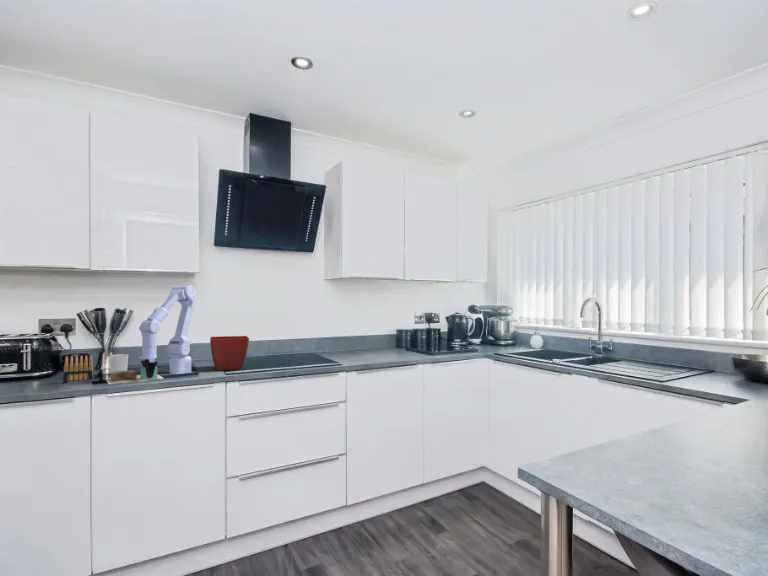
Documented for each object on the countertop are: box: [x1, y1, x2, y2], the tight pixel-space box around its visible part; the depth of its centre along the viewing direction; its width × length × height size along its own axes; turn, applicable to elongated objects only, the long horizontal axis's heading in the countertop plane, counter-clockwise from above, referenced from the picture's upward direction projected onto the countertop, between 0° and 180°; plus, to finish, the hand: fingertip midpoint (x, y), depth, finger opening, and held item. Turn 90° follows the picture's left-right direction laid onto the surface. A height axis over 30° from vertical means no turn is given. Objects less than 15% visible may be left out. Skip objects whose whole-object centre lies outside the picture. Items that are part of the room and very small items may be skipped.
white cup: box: [108, 353, 129, 376], centre depth 199 cm, size 8×8×10 cm
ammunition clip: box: [62, 354, 94, 385], centre depth 182 cm, size 11×2×12 cm, turn 119°
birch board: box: [104, 373, 165, 385], centre depth 186 cm, size 21×17×1 cm
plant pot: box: [209, 335, 250, 371], centre depth 220 cm, size 19×19×17 cm
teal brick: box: [139, 366, 158, 381], centre depth 186 cm, size 6×4×5 cm
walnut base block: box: [110, 369, 137, 381], centre depth 185 cm, size 9×7×3 cm
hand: (148, 376), depth 186 cm, fingers closed on teal brick, 4 cm apart
